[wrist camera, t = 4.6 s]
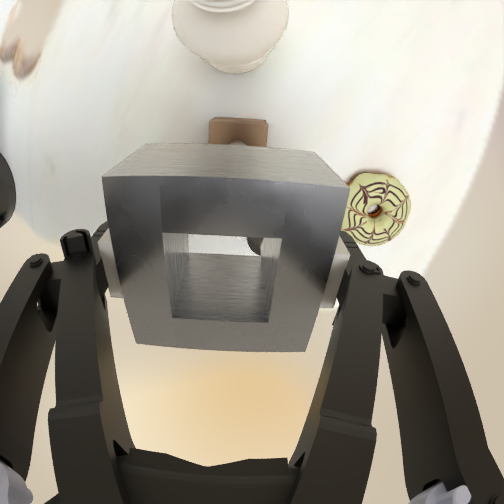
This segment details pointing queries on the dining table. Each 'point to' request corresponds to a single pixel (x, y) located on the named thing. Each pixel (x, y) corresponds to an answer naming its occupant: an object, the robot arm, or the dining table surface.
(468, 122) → the dining table surface
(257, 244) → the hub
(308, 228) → the square steel tube
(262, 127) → the stand
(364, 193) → the decorated donut
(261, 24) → the water bottle
